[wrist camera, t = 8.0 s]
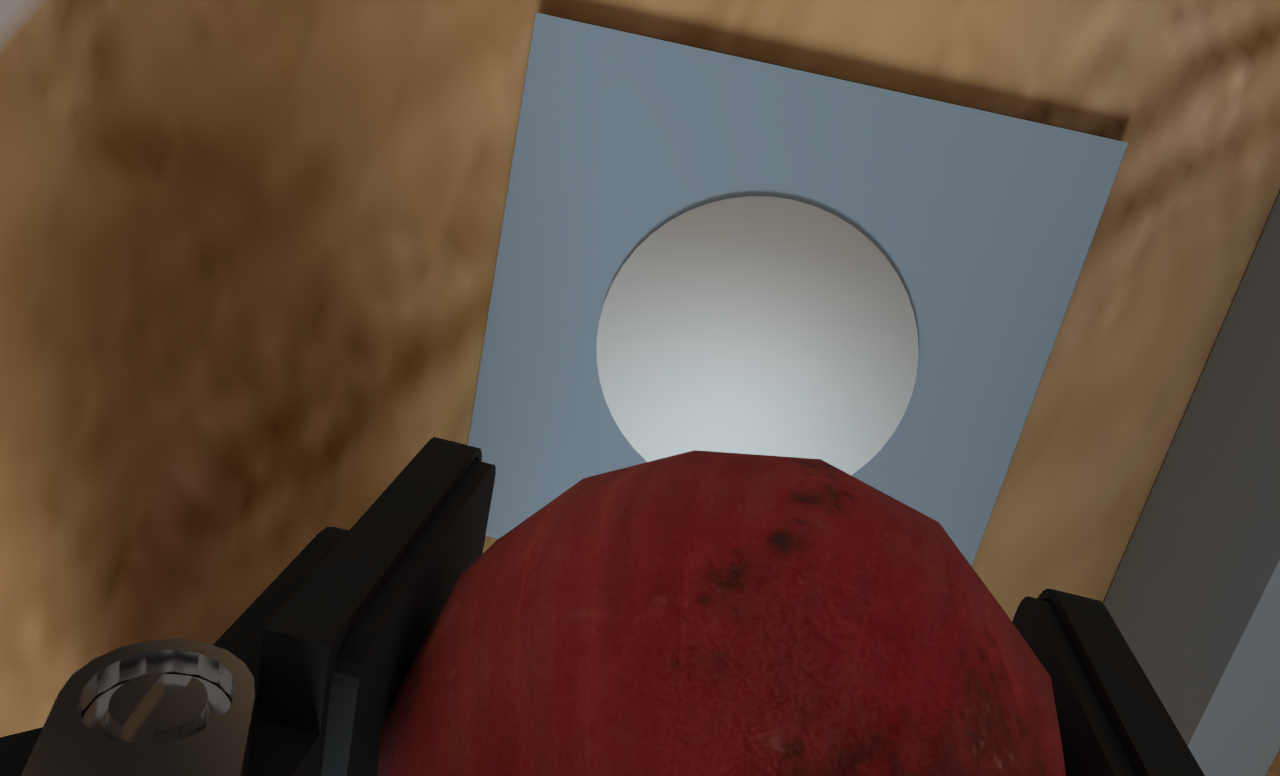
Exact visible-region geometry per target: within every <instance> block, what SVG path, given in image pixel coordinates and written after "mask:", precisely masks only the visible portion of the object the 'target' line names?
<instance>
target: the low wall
mask: <svg viewBox="0 0 1280 776" xmlns="http://www.w3.org/2000/svg"><path fill="white" fill-rule="evenodd" d="M1103 604H1104V605H1105V606H1106V608H1107V610H1108V612H1109V613H1110V615H1111V617H1112V618H1113V620H1114V622H1115V623H1116V625H1117V627H1118V629H1119V630H1120V632H1121V634H1122V635H1123V637H1124V639H1125V640H1126V642H1127V644H1128V646H1129V647H1130V649H1131V651H1132V652H1133V654H1134V656H1135V657H1136V659H1137V661H1138V663H1139V664H1140V666H1141V668H1142V669H1143V671H1144V673H1145V674H1146V676H1147V678H1148V680H1149V681H1150V683H1151V685H1152V686H1153V688H1154V690H1155V692H1156V693H1157V695H1158V697H1159V698H1160V700H1161V702H1162V703H1163V705H1164V707H1165V709H1166V710H1167V712H1168V714H1169V715H1170V717H1171V719H1172V720H1173V722H1174V724H1175V726H1176V727H1177V729H1178V731H1179V732H1180V734H1181V736H1182V737H1183V739H1184V741H1185V743H1186V744H1187V746H1188V748H1189V749H1190V751H1191V753H1192V754H1193V756H1194V758H1195V760H1196V761H1197V763H1198V765H1199V766H1200V768H1201V770H1202V771H1203V773H1204V775H1205V776H1266V774H1267V772H1268V770H1269V768H1270V766H1271V764H1272V762H1273V761H1274V759H1275V757H1276V755H1277V753H1278V751H1279V749H1280V193H1279V195H1278V198H1277V200H1276V202H1275V205H1274V207H1273V209H1272V212H1271V214H1270V216H1269V219H1268V221H1267V223H1266V226H1265V228H1264V230H1263V233H1262V235H1261V237H1260V240H1259V242H1258V244H1257V247H1256V249H1255V251H1254V254H1253V256H1252V258H1251V261H1250V263H1249V265H1248V268H1247V270H1246V272H1245V275H1244V277H1243V279H1242V281H1241V284H1240V286H1239V288H1238V291H1237V293H1236V295H1235V298H1234V300H1233V302H1232V305H1231V307H1230V309H1229V312H1228V314H1227V316H1226V319H1225V321H1224V323H1223V326H1222V328H1221V330H1220V333H1219V335H1218V337H1217V340H1216V342H1215V344H1214V347H1213V349H1212V351H1211V354H1210V356H1209V358H1208V361H1207V363H1206V365H1205V368H1204V370H1203V372H1202V375H1201V377H1200V379H1199V382H1198V384H1197V386H1196V389H1195V391H1194V393H1193V396H1192V398H1191V400H1190V403H1189V405H1188V407H1187V410H1186V412H1185V414H1184V417H1183V419H1182V421H1181V424H1180V426H1179V428H1178V431H1177V433H1176V435H1175V438H1174V440H1173V442H1172V444H1171V447H1170V449H1169V451H1168V454H1167V456H1166V458H1165V461H1164V463H1163V465H1162V468H1161V470H1160V472H1159V475H1158V477H1157V479H1156V482H1155V484H1154V486H1153V489H1152V491H1151V493H1150V496H1149V498H1148V500H1147V503H1146V505H1145V507H1144V510H1143V512H1142V514H1141V517H1140V519H1139V521H1138V524H1137V526H1136V528H1135V531H1134V533H1133V535H1132V538H1131V540H1130V542H1129V545H1128V547H1127V549H1126V552H1125V554H1124V556H1123V559H1122V561H1121V563H1120V566H1119V568H1118V570H1117V573H1116V575H1115V577H1114V580H1113V582H1112V584H1111V587H1110V589H1109V591H1108V594H1107V596H1106V598H1105V601H1104V603H1103Z"/></svg>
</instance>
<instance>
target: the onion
mask: <svg viewBox="0 0 1280 776" xmlns="http://www.w3.org/2000/svg"><path fill="white" fill-rule="evenodd" d="M377 776H1066V770H1065V763H1064V756H1063V748H1062V742H1061V736H1060V730H1059V724H1058V718H1057V712H1056V706H1055V700H1054V694H1053V688H1052V682H1051V676H1050V675H1049V674H1048V672H1047V671H1046V669H1045V668H1044V667H1043V665H1042V664H1041V662H1040V661H1039V659H1038V658H1037V657H1036V655H1035V654H1034V652H1033V651H1032V649H1031V648H1030V647H1029V645H1028V644H1027V642H1026V641H1025V640H1024V638H1023V637H1022V635H1021V634H1020V632H1019V631H1018V630H1017V628H1016V627H1015V625H1014V624H1013V623H1012V621H1011V620H1010V618H1009V617H1008V616H1007V614H1006V613H1005V612H1004V610H1003V609H1002V608H1001V606H1000V605H999V603H998V602H997V601H996V599H995V598H994V597H993V595H992V594H991V593H990V591H989V590H988V588H987V587H986V586H985V584H984V583H983V582H982V580H981V579H980V577H979V576H978V575H977V573H976V572H975V571H974V569H973V568H972V567H971V565H970V564H969V562H968V561H967V560H966V558H965V557H964V556H963V554H962V553H961V552H960V550H959V549H958V547H957V546H956V545H955V543H954V542H953V541H952V539H951V538H950V537H949V535H948V534H947V532H946V531H945V530H944V528H943V527H942V526H941V524H940V523H939V522H938V521H936V520H934V519H932V518H930V517H928V516H926V515H924V514H923V513H921V512H919V511H917V510H915V509H913V508H911V507H909V506H907V505H906V504H904V503H902V502H900V501H898V500H896V499H894V498H892V497H891V496H889V495H887V494H885V493H883V492H881V491H879V490H877V489H876V488H874V487H872V486H870V485H868V484H866V483H864V482H862V481H861V480H859V479H857V478H855V477H853V476H851V475H849V474H847V473H846V472H844V471H842V470H840V469H838V468H836V467H834V466H832V465H830V464H829V463H827V462H825V461H823V460H821V459H809V458H795V457H781V456H767V455H753V454H739V453H725V452H711V451H697V450H694V451H690V452H686V453H682V454H678V455H674V456H670V457H666V458H662V459H658V460H654V461H650V462H646V463H642V464H638V465H634V466H630V467H626V468H622V469H618V470H614V471H610V472H606V473H602V474H598V475H595V476H591V477H587V478H583V479H582V480H580V481H579V482H578V483H576V484H575V485H573V486H572V487H571V488H569V489H568V490H566V491H565V492H564V493H562V494H561V495H559V496H558V497H557V498H555V499H554V500H552V501H551V502H550V503H548V504H547V505H545V506H544V507H543V508H541V509H540V510H538V511H537V512H536V513H534V514H533V515H531V516H530V517H529V518H527V519H526V520H524V521H523V522H522V523H520V524H519V525H518V526H516V527H515V528H513V529H512V530H511V531H509V532H508V533H506V534H505V535H504V536H502V537H501V538H499V539H498V540H497V541H496V542H495V543H494V544H493V545H492V546H491V547H490V548H489V549H488V550H486V551H485V552H484V553H483V554H482V555H481V556H480V557H479V558H478V559H477V560H476V561H475V562H474V563H473V564H472V565H471V566H470V567H469V568H468V569H467V570H466V571H465V572H464V573H463V574H462V575H461V576H460V578H459V580H458V581H457V583H456V585H455V587H454V588H453V590H452V592H451V594H450V595H449V597H448V599H447V600H446V602H445V604H444V606H443V607H442V609H441V611H440V613H439V614H438V616H437V618H436V620H435V621H434V623H433V625H432V626H431V628H430V630H429V632H428V633H427V635H426V637H425V639H424V640H423V642H422V644H421V645H420V647H419V649H418V651H417V652H416V654H415V656H414V658H413V660H412V662H411V664H410V666H409V668H408V670H407V673H406V675H405V677H404V679H403V681H402V683H401V685H400V688H399V690H398V692H397V694H396V696H395V698H394V700H393V703H392V705H391V707H390V709H389V711H388V713H387V716H386V718H385V721H384V723H383V725H382V728H381V730H380V743H379V757H378V772H377Z"/></svg>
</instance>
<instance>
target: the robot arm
mask: <svg viewBox="0 0 1280 776" xmlns="http://www.w3.org/2000/svg"><path fill="white" fill-rule="evenodd" d="M495 475H496V467H495V465H493V464H489V463H485V462H482V452H481V449H480V448H476V447H472V446H468V445H464V444H460V443H456V442H452V441H448V440H444V439H440V438H436V437H433V438H432V439H430V440H429V442H428V443H427V444H426V445H425V446H424V447H423V448H422V449H421V451H420V452H419V453H418V454H417V455H416V456H415V457H414V458H413V460H412V461H411V462H410V463H409V464H408V465H407V466H406V467H405V469H404V470H403V471H402V472H401V473H400V474H399V475H398V476H397V478H396V479H395V480H394V481H393V482H392V483H391V484H390V485H389V487H388V488H387V489H386V490H385V491H384V492H383V493H382V495H381V496H380V497H379V498H378V499H377V500H376V501H375V502H374V504H373V505H372V506H371V507H370V508H369V509H368V510H367V511H366V513H365V514H364V515H363V516H362V517H361V518H360V519H359V520H358V522H357V523H356V524H355V525H354V526H353V527H352V528H351V529H350V531H348V530H344V529H341V528H337V527H326V528H325V529H324V530H322V531H321V532H320V533H319V534H318V535H317V536H316V537H315V538H314V539H313V540H312V541H311V542H310V543H309V544H308V545H307V546H306V547H305V548H304V549H303V551H302V552H301V553H300V554H299V555H298V556H297V557H296V558H295V559H294V560H293V561H292V562H291V563H290V564H289V565H288V566H287V567H286V568H285V570H284V571H283V572H282V573H281V574H280V575H279V576H278V577H277V578H276V579H275V580H274V581H273V582H272V583H271V584H270V585H269V586H268V588H267V589H266V590H265V591H264V592H263V593H262V594H261V595H260V596H259V597H258V598H257V599H256V600H255V601H254V602H253V603H252V604H251V605H250V607H249V608H248V609H247V610H246V611H245V612H244V613H243V614H242V615H241V616H240V617H239V618H238V619H237V620H236V621H235V622H234V623H233V625H232V626H231V627H230V628H229V629H228V630H227V631H226V632H225V633H224V634H223V635H222V636H221V637H220V638H219V639H218V640H217V641H216V643H215V644H214V645H211V644H208V643H205V642H198V641H190V640H181V639H169V640H153V641H145V642H141V643H137V644H132V645H128V646H124V647H120V648H117V649H115V650H113V651H110V652H108V653H106V654H104V655H101V656H99V657H97V658H95V659H93V660H91V661H90V662H89V663H87V664H86V665H85V666H83V667H82V668H81V669H79V670H78V671H76V672H75V673H74V674H72V675H71V677H70V678H69V680H68V681H67V682H66V684H65V685H64V687H63V688H62V689H61V691H60V692H59V693H58V696H57V698H56V700H55V702H54V704H53V707H52V709H51V711H50V713H49V715H48V718H47V720H46V722H45V724H44V726H43V727H42V728H38V729H34V730H30V731H26V732H22V733H18V734H13V735H9V736H5V737H1V738H0V776H377V772H378V757H379V743H380V730H381V728H382V725H383V723H384V721H385V718H386V716H387V713H388V711H389V709H390V707H391V705H392V703H393V700H394V698H395V696H396V694H397V692H398V690H399V688H400V685H401V683H402V681H403V679H404V677H405V675H406V673H407V670H408V668H409V666H410V664H411V662H412V660H413V658H414V656H415V654H416V652H417V651H418V649H419V647H420V645H421V644H422V642H423V640H424V639H425V637H426V635H427V633H428V632H429V630H430V628H431V626H432V625H433V623H434V621H435V620H436V618H437V616H438V614H439V613H440V611H441V609H442V607H443V606H444V604H445V602H446V600H447V599H448V597H449V595H450V594H451V592H452V590H453V588H454V587H455V585H456V583H457V581H458V580H459V578H460V576H461V575H462V574H463V573H464V572H465V571H466V570H467V569H468V568H469V567H470V566H471V565H472V564H473V563H474V562H475V561H476V560H477V559H478V558H479V557H480V556H481V555H482V553H483V547H484V541H485V535H486V529H487V523H488V517H489V511H490V505H491V499H492V494H493V488H494V482H495ZM1012 623H1013V624H1014V625H1015V627H1016V628H1017V630H1018V631H1019V632H1020V634H1021V635H1022V637H1023V638H1024V640H1025V641H1026V642H1027V644H1028V645H1029V647H1030V648H1031V649H1032V651H1033V652H1034V654H1035V655H1036V657H1037V658H1038V659H1039V661H1040V662H1041V664H1042V665H1043V667H1044V668H1045V669H1046V671H1047V672H1048V674H1049V675H1050V676H1051V682H1052V688H1053V694H1054V700H1055V706H1056V712H1057V718H1058V724H1059V730H1060V736H1061V742H1062V748H1063V756H1064V763H1065V770H1066V776H1205V775H1204V773H1203V771H1202V770H1201V768H1200V766H1199V765H1198V763H1197V761H1196V760H1195V758H1194V756H1193V754H1192V753H1191V751H1190V749H1189V748H1188V746H1187V744H1186V743H1185V741H1184V739H1183V737H1182V736H1181V734H1180V732H1179V731H1178V729H1177V727H1176V726H1175V724H1174V722H1173V720H1172V719H1171V717H1170V715H1169V714H1168V712H1167V710H1166V709H1165V707H1164V705H1163V703H1162V702H1161V700H1160V698H1159V697H1158V695H1157V693H1156V692H1155V690H1154V688H1153V686H1152V685H1151V683H1150V681H1149V680H1148V678H1147V676H1146V674H1145V673H1144V671H1143V669H1142V668H1141V666H1140V664H1139V663H1138V661H1137V659H1136V657H1135V656H1134V654H1133V652H1132V651H1131V649H1130V647H1129V646H1128V644H1127V642H1126V640H1125V639H1124V637H1123V635H1122V634H1121V632H1120V630H1119V629H1118V627H1117V625H1116V623H1115V622H1114V620H1113V618H1112V617H1111V615H1110V613H1109V612H1108V610H1107V608H1106V606H1105V605H1104V604H1103V603H1102V602H1101V601H1098V600H1094V599H1090V598H1086V597H1081V596H1077V595H1073V594H1069V593H1065V592H1061V591H1057V590H1053V589H1046V590H1044V591H1043V592H1042V593H1041V594H1040V595H1039V597H1038V598H1037V599H1036V598H1032V597H1026V598H1024V599H1023V600H1022V601H1021V603H1020V605H1019V607H1018V609H1017V611H1016V613H1015V616H1014V618H1013V621H1012Z"/></svg>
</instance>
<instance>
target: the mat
mask: <svg viewBox="0 0 1280 776" xmlns="http://www.w3.org/2000/svg"><path fill="white" fill-rule="evenodd" d="M1127 145H1128V143H1127V142H1123V141H1119V140H1115V139H1110V138H1105V137H1101V136H1096V135H1092V134H1087V133H1083V132H1078V131H1074V130H1069V129H1064V128H1060V127H1055V126H1051V125H1046V124H1042V123H1037V122H1033V121H1028V120H1024V119H1019V118H1014V117H1010V116H1005V115H1001V114H996V113H992V112H987V111H983V110H978V109H974V108H969V107H964V106H960V105H955V104H951V103H946V102H942V101H937V100H933V99H928V98H924V97H919V96H914V95H910V94H905V93H901V92H896V91H892V90H887V89H883V88H878V87H874V86H869V85H864V84H860V83H855V82H851V81H846V80H842V79H837V78H833V77H828V76H824V75H819V74H814V73H810V72H805V71H801V70H796V69H792V68H787V67H783V66H778V65H773V64H769V63H764V62H760V61H755V60H751V59H746V58H742V57H737V56H733V55H728V54H723V53H719V52H714V51H710V50H705V49H701V48H696V47H692V46H687V45H683V44H678V43H673V42H669V41H664V40H660V39H655V38H651V37H646V36H642V35H637V34H633V33H628V32H623V31H619V30H614V29H610V28H605V27H601V26H596V25H592V24H587V23H583V22H578V21H573V20H569V19H564V18H560V17H555V16H551V15H546V14H542V13H536V15H535V21H534V28H533V34H532V40H531V47H530V53H529V59H528V66H527V72H526V78H525V85H524V91H523V97H522V104H521V110H520V116H519V123H518V129H517V135H516V142H515V148H514V154H513V161H512V167H511V173H510V180H509V186H508V193H507V199H506V205H505V212H504V218H503V224H502V231H501V237H500V243H499V250H498V256H497V262H496V269H495V275H494V281H493V288H492V294H491V300H490V307H489V313H488V319H487V326H486V332H485V338H484V345H483V351H482V357H481V364H480V370H479V376H478V383H477V389H476V396H475V402H474V408H473V415H472V421H471V427H470V434H469V440H468V446H472V447H476V448H480V449H481V452H482V462H485V463H489V464H493V465H495V467H496V475H495V482H494V488H493V494H492V499H491V505H490V511H489V517H488V523H487V529H486V535H485V536H488V537H492V538H496V539H499V538H501V537H502V536H504V535H505V534H506V533H508V532H509V531H511V530H512V529H513V528H515V527H516V526H518V525H519V524H520V523H522V522H523V521H524V520H526V519H527V518H529V517H530V516H531V515H533V514H534V513H536V512H537V511H538V510H540V509H541V508H543V507H544V506H545V505H547V504H548V503H550V502H551V501H552V500H554V499H555V498H557V497H558V496H559V495H561V494H562V493H564V492H565V491H566V490H568V489H569V488H571V487H572V486H573V485H575V484H576V483H578V482H579V481H580V480H582V479H583V478H587V477H591V476H595V475H598V474H602V473H606V472H610V471H614V470H618V469H622V468H626V467H630V466H634V465H638V464H642V463H646V462H650V461H654V460H658V459H662V458H666V457H670V456H674V455H678V454H682V453H686V452H690V451H694V450H697V451H711V452H725V453H739V454H753V455H767V456H781V457H795V458H809V459H821V460H823V461H825V462H827V463H829V464H830V465H832V466H834V467H836V468H838V469H840V470H842V471H844V472H846V473H847V474H849V475H851V476H853V477H855V478H857V479H859V480H861V481H862V482H864V483H866V484H868V485H870V486H872V487H874V488H876V489H877V490H879V491H881V492H883V493H885V494H887V495H889V496H891V497H892V498H894V499H896V500H898V501H900V502H902V503H904V504H906V505H907V506H909V507H911V508H913V509H915V510H917V511H919V512H921V513H923V514H924V515H926V516H928V517H930V518H932V519H934V520H936V521H938V522H939V523H940V524H941V526H942V527H943V528H944V530H945V531H946V532H947V534H948V535H949V537H950V538H951V539H952V541H953V542H954V543H955V545H956V546H957V547H958V549H959V550H960V552H961V553H962V554H963V556H964V557H965V558H966V560H967V561H968V562H969V564H970V565H971V567H972V564H973V561H974V559H975V556H976V553H977V551H978V548H979V545H980V542H981V540H982V537H983V534H984V532H985V529H986V526H987V524H988V521H989V518H990V515H991V513H992V510H993V507H994V505H995V502H996V499H997V497H998V494H999V491H1000V488H1001V486H1002V483H1003V480H1004V478H1005V475H1006V472H1007V469H1008V467H1009V464H1010V461H1011V459H1012V456H1013V453H1014V451H1015V448H1016V445H1017V442H1018V440H1019V437H1020V434H1021V432H1022V429H1023V426H1024V423H1025V421H1026V418H1027V415H1028V413H1029V410H1030V407H1031V405H1032V402H1033V399H1034V396H1035V394H1036V391H1037V388H1038V386H1039V383H1040V380H1041V377H1042V375H1043V372H1044V369H1045V367H1046V364H1047V361H1048V359H1049V356H1050V353H1051V350H1052V348H1053V345H1054V342H1055V340H1056V337H1057V334H1058V331H1059V329H1060V326H1061V323H1062V321H1063V318H1064V315H1065V313H1066V310H1067V307H1068V304H1069V302H1070V299H1071V296H1072V294H1073V291H1074V288H1075V286H1076V283H1077V280H1078V277H1079V275H1080V272H1081V269H1082V267H1083V264H1084V261H1085V258H1086V256H1087V253H1088V250H1089V248H1090V245H1091V242H1092V240H1093V237H1094V234H1095V231H1096V229H1097V226H1098V223H1099V221H1100V218H1101V215H1102V212H1103V210H1104V207H1105V204H1106V202H1107V199H1108V196H1109V194H1110V191H1111V188H1112V185H1113V183H1114V180H1115V177H1116V175H1117V172H1118V169H1119V166H1120V164H1121V161H1122V158H1123V156H1124V153H1125V150H1126V148H1127Z"/></svg>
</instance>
